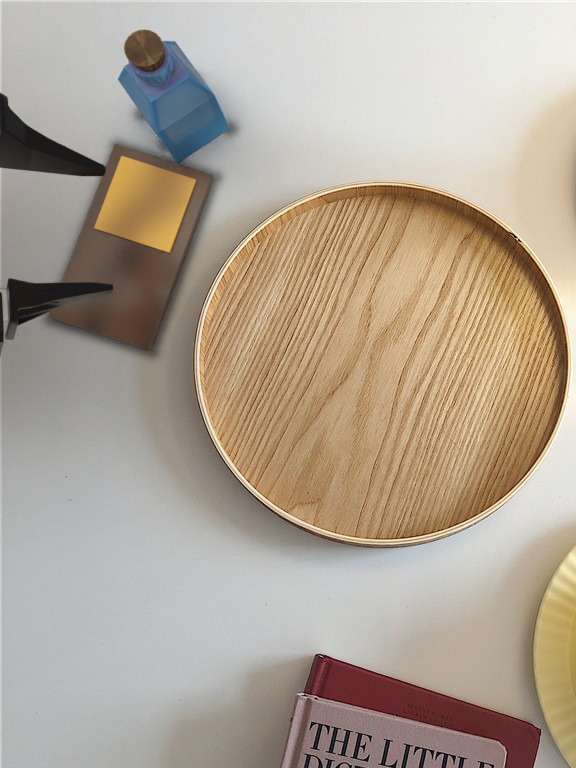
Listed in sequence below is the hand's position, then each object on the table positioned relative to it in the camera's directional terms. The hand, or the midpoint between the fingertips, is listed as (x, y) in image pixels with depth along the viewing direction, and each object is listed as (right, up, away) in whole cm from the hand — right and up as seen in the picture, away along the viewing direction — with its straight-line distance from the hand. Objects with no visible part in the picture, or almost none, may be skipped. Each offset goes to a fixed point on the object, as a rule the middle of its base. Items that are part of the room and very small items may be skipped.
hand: (108, 229), depth 52 cm
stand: (-4, +2, +15) cm, 15 cm away
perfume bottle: (+1, +15, +16) cm, 22 cm away
